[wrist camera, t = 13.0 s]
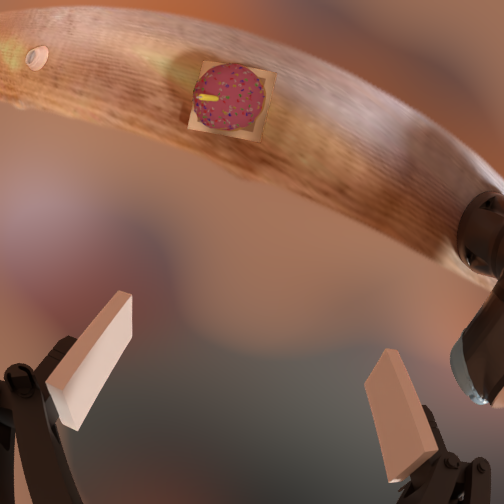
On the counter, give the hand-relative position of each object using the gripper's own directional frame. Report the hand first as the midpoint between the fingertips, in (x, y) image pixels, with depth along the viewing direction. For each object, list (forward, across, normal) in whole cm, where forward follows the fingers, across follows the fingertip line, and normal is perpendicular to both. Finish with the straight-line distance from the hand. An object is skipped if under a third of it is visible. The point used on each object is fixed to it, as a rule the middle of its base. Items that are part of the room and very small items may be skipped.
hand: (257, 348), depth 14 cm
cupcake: (+29, -8, +13) cm, 33 cm away
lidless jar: (+32, -46, +19) cm, 60 cm away
